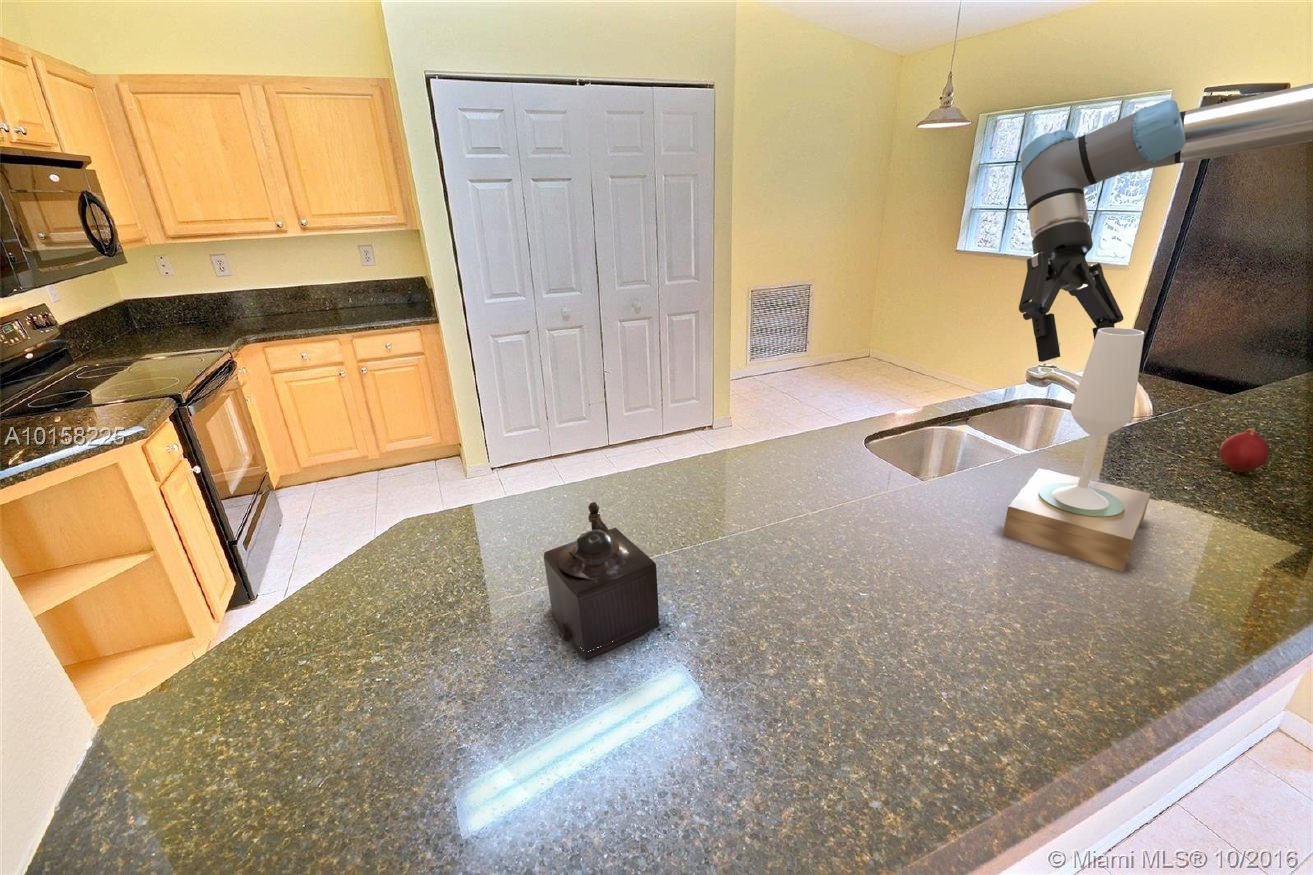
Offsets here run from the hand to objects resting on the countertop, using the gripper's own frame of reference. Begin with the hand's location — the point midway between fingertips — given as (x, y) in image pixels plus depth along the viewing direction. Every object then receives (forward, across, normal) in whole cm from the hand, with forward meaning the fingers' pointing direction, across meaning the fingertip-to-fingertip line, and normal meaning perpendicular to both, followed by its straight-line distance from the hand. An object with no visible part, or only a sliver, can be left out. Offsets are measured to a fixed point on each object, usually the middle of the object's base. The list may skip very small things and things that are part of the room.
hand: (1080, 362), depth 87 cm
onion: (+16, -36, 0) cm, 40 cm away
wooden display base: (+25, +3, -3) cm, 25 cm away
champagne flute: (+20, +4, 0) cm, 21 cm away
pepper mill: (+35, +70, -15) cm, 80 cm away
